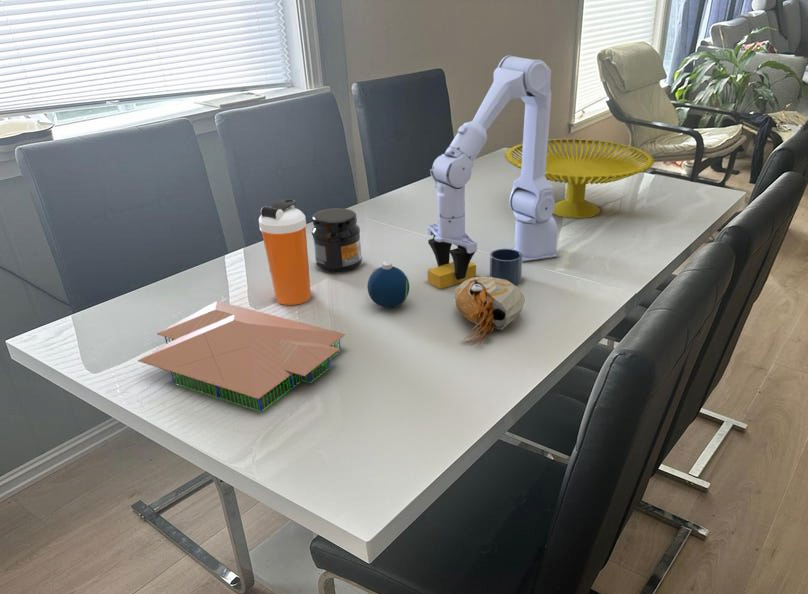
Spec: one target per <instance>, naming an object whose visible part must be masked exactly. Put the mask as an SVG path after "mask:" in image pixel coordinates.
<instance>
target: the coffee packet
mask: <svg viewBox="0 0 808 594" xmlns="http://www.w3.org/2000/svg"><path fill="white" fill-rule="evenodd" d="M474 277H477V264H475V263H473V262H471V261H470V263H469V265H468V269H467V272H466V276H465V278H463V279H460V280H457V279H456V276H455V267H454V262H453V261H452V262H449V263H448V264H445V265H442V266H438V265H437V266H435V267H431V268H429V269H427V283H428V284H430V285H432V286H434V287H436V288H437V289H440V290H442V289H444V288H449V287H452V286H454V285H457V284H461V283H463V282H464V281H466V280H468V279H471V278H474Z"/></svg>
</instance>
